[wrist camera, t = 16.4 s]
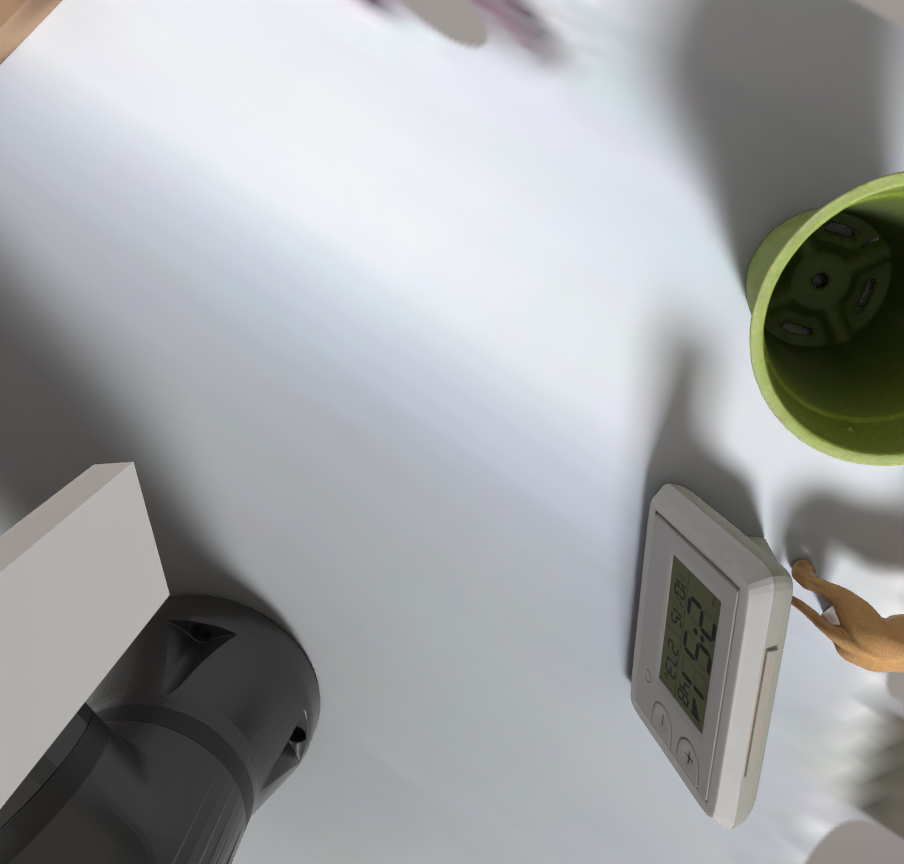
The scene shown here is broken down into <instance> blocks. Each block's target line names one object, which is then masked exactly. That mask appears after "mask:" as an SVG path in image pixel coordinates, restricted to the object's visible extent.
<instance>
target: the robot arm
mask: <svg viewBox="0 0 904 864" xmlns="http://www.w3.org/2000/svg"><path fill="white" fill-rule="evenodd" d="M169 595H170V594H169V590H168V587H167V583H166V579H165V576H164V572H163V568H162V565H161V561H160V557H159V554H158V550H157V546H156V543H155V539H154V535H153V532H152V528H151V524H150V521H149V517H148V513H147V510H146V506H145V502H144V499H143V495H142V491H141V488H140V484H139V480H138V477H137V473H136V469H135V466H134V462H123V463H108V464H94V465H93V466H91V467H90V468H89V469H87V470H86V471H85V472H83V473H82V474H81V475H79V476H78V477H77V478H75V479H74V480H73V481H72V482H70V483H69V484H68V485H66V486H65V487H64V488H62V489H61V490H60V491H58V492H57V493H56V494H55V495H53V496H52V497H51V498H49V499H48V500H47V501H45V502H44V503H43V504H41V505H40V506H39V507H38V508H36V509H35V510H34V511H32V512H31V513H30V514H28V515H27V516H26V517H24V518H23V519H22V520H21V521H19V522H18V523H17V524H15V525H14V526H13V527H11V528H10V529H9V530H7V531H6V532H5V533H4V534H2V535H1V536H0V864H231V863H232V861H233V858H234V856H235V854H236V851H237V849H238V846H239V844H240V841H241V839H242V836H243V834H244V831H245V829H246V827H247V824H248V822H249V820H250V818H251V816H252V815H253V814H254V813H255V812H256V811H257V809H258V808H259V807H260V806H261V805H262V804H263V803H264V802H265V801H266V800H267V799H268V798H269V797H270V796H271V795H272V794H273V793H274V792H275V791H276V790H277V788H278V787H279V786H280V785H281V784H282V783H283V782H284V781H285V780H286V779H287V778H288V777H289V776H290V775H291V774H292V773H293V772H294V770H295V769H296V768H297V767H298V765H299V764H300V762H301V761H302V759H303V757H304V756H305V754H306V752H307V750H308V747H309V745H310V742H311V739H312V737H313V734H314V732H315V729H316V726H317V723H318V719H319V713H320V694H319V688H318V684H317V680H316V677H315V674H314V672H313V669H312V667H311V665H310V663H309V661H308V660H307V658H306V656H305V655H304V653H303V652H302V650H301V649H300V648H299V646H298V645H297V644H296V643H295V642H294V641H293V640H292V638H291V637H290V636H289V635H288V634H287V633H285V632H284V631H283V630H282V629H281V628H280V627H278V626H277V625H276V624H275V623H273V622H272V621H270V620H269V619H267V618H266V617H264V616H263V615H261V614H259V613H257V612H255V611H254V610H251V609H249V608H247V607H245V606H242V605H240V604H237V603H234V602H231V601H227V600H223V599H219V598H213V597H206V596H181V597H174V598H169V599H167V598H168V596H169Z"/></svg>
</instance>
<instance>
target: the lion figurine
mask: <svg viewBox="0 0 904 864" xmlns="http://www.w3.org/2000/svg"><path fill="white" fill-rule="evenodd" d="M815 572H816V571H815V569H814V566H813V564H811V563H810V562H809V561H808V560H798V561H796V562H795V563H794V565H793V567H792V577H793V578H794V579H795V580H796V581H797V582H798V583H799V584H800V585H801V586H802V587H803V588H805V589H807V590H810V591H813V592H815V593H817V594H818V595H820V596H821V597H823V598H824V599H825V600H827V601H828V602H829V603H830V604H831V605H832V606H831V607H830V608H828V609H827V610H826V611H825V612H824V613H822V614H821V616H820V615H819V614H818V613H817V612H816V611H815V610H813V609H812V608H811V607H809V606H808V605H807V604H805V603H804V602H803V601H801V600H799V599H798V598H796V597H794V596H792V601H791V605H793V606H795V607H796V608H797V609H798V610H800V611H801V612H802V613H803V614H804V615H805V616H806V617H807V618H808V619H809V620H810V621H812V622H813V624H814V625H815V626H816V627H817V628H818V629H820V630H821V631H822V632H823V633H824V634H825V635H826V636H827V637H828V638H829V639H831V640H832V641H833V643H834V645H835V647H836V650H837V652H838V653H839V654H840V655H841V656H842V657H843V658H844V659H845V660H847V661H849V662H851V663H853V664H855V665H857V666H860V667H862V668H864V669H867V670H869V671H873V672H904V614H899V615H892V616H889V617H887V618H882V617H881V616H880V615H879V614H878V613H877V611H876V610H875V609H874V608H873V607H872V606H871V605H870V604H869V603H868V602H866V601H865V600H863V599H862V598H860V597H859V596H857V595H856V594H854V593H853V592H851V591H850V590H848V589H846V588H843V587H841V586H839V585H836V584H833V583H830V582H827V581H824V580H821V579H819V578H817V577H814V576H813V575H814V574H815Z"/></svg>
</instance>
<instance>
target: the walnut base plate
mask: <svg viewBox="0 0 904 864" xmlns="http://www.w3.org/2000/svg"><path fill="white" fill-rule="evenodd" d="M61 1H62V0H0V64H1V63H2V62H3V61H4V60H5V59H6V58H7V57H8V56H9V55H10V54H11V53H12V52H13V51H14V50H15V49H16V48H17V47H18V46H19V45H20V44H21V43H22V42H23V40H24V39H25V38H26V37H27V36H28V35H29V34H30V33H31V32H32V31H33V30H34V29H35V28H36V27H37V26H38V25H39V24H40V23H41V22H42V21H43V20H44V19H45V18H46V17H47V15H48V14H49V13H50V12H51V11H52V10H53V9H54V8H55V7H56V6H57V5H58V4H59V3H60V2H61Z"/></svg>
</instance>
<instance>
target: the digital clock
mask: <svg viewBox="0 0 904 864" xmlns="http://www.w3.org/2000/svg"><path fill="white" fill-rule="evenodd" d="M792 593H793V582H792V578H791V576H790V574H789V573H788V571H787V570H786V569H785V568H784V567H783V566H782V565H781V564H779V563H778V562H777V560H776V558H775V556H774V555H773V553H772V551H771V549H770V547H769V545H768V543H767V541H766V539H764V538H761V537H754V536H746V535H745V534H743V533H742V532H741V531H740V530H738V529H737V528H736V527H735V526H734V525H732V524H731V523H730V522H729V521H727V520H726V519H725V518H724V517H723V516H721V515H720V514H719V513H718V512H716V511H715V510H714V509H713V508H712V507H710V506H709V505H708V504H707V503H705V502H704V501H703V500H702V499H701V498H699V497H698V496H697V495H696V494H694V493H693V492H692V491H690V490H688V489H687V488H685V487H683V486H681V485H677V484H665V485H663V486H662V488H661V489H660V490H659V491H658V492H657V494H656V495H655V496H654V497H653V499H652V500H651V503H650V509H649V517H648V525H647V534H646V544H645V553H644V563H643V573H642V582H641V592H640V602H639V611H638V621H637V631H636V640H635V650H634V660H633V670H632V681H631V701H632V704H633V706H634V708H635V710H636V712H637V713H638V715H639V717H640V718H641V720H642V721H643V723H644V724H645V726H646V727H647V728H648V730H649V731H650V733H651V734H652V736H653V737H654V739H655V740H656V742H657V743H658V745H659V746H660V748H661V749H662V751H663V752H664V754H665V755H666V757H667V758H668V759H669V761H670V762H671V764H672V765H673V767H674V768H675V770H676V771H677V773H678V774H679V776H680V777H681V779H682V780H683V782H684V783H685V785H686V786H687V788H688V789H689V790H690V792H691V793H692V795H693V796H694V798H695V799H696V801H697V802H698V804H699V805H700V806H701V808H702V809H703V810H704V812H705V813H706V814H707V815H708V816H709V817H710V818H711V819H713V820H714V821H716V822H717V823H719V824H720V825H722V826H724V827H725V828H727V829H732V828H735V827H737V826H739V825H740V824H742V823H743V822H744V821H745V820H746V819H747V817H748V816H749V814H750V812H751V810H752V809H753V807H754V803H755V799H756V794H757V789H758V784H759V779H760V774H761V769H762V764H763V758H764V753H765V747H766V742H767V736H768V731H769V725H770V720H771V714H772V709H773V703H774V698H775V692H776V687H777V681H778V676H779V670H780V665H781V659H782V654H783V648H784V642H785V637H786V631H787V625H788V619H789V613H790V607H791V601H792Z"/></svg>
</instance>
